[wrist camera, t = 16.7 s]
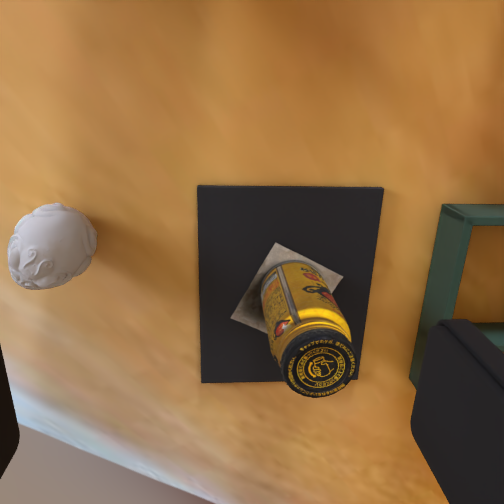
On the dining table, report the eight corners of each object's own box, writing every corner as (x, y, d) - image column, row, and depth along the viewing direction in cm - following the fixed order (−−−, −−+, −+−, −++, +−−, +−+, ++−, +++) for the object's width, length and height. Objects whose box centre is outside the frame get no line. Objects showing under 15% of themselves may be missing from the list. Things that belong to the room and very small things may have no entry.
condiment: (342, 275, 40) (390, 350, 29) (295, 345, 42) (322, 439, 31) (275, 241, 38) (297, 306, 27) (230, 316, 40) (233, 404, 29)
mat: (197, 185, 36) (197, 186, 36) (382, 187, 37) (384, 188, 37) (201, 379, 44) (201, 383, 43) (356, 376, 45) (357, 379, 44)
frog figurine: (15, 236, 37) (-28, 268, 30) (63, 176, 35) (27, 197, 29) (75, 278, 39) (46, 317, 32) (123, 223, 37) (103, 252, 31)
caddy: (441, 203, 38) (465, 216, 35) (574, 204, 39) (611, 217, 36) (408, 377, 45) (425, 404, 42) (522, 375, 46) (548, 400, 42)
